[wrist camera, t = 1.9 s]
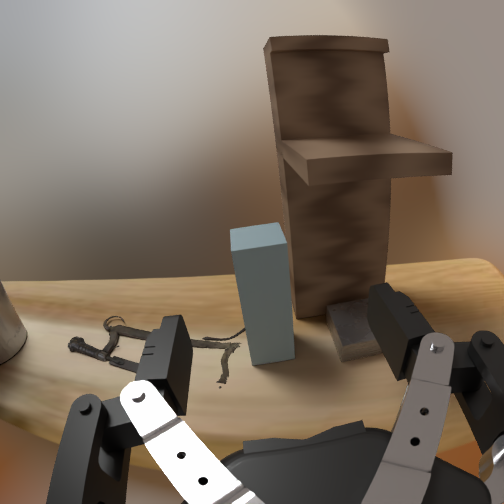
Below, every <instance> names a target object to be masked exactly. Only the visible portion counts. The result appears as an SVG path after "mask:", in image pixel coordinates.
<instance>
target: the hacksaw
mask: <svg viewBox="0 0 504 504" xmlns="http://www.w3.org/2000/svg"><path fill="white" fill-rule="evenodd" d="M113 317H118V316H112V317H109V318H108V319H106V320H105V322H104V324H103V326H104V328H105V329H107V330H109V332H110V331H111V332H110V333H109V336H110V340H109V342H108V344H107V345H106V346H105V347H104V349H103V350H99V349H96V348H94V347H93V346H90V345H88V344H86V343H85V342H84V339H83V338H79V337H74V338H72V339H71V340H70V343H68V348H69V349H70V351H72V352H73V351H77V352H80V353H83V354H85V355H89V356H91V357H94V358H96V359H99V360H102V361H106V360H108V361H110V362H109V364H112V365H115V366H118V367H121V368H124V369H127V370H130V371H133V372H136V373H137V370H138V366H139V363H135V362H132V361H129V360H125V359H122V358H119V357H116V356H114V357H113V358H112V357H110V352H111V351H112V349H113V348H116V347H114V346H115V345H116V343H117V340H118V334H119V335H125V336H129V337H134V338H139V339H144V340H146V339H147V337H148V336H149V335H150V333H151V332H149V331H144V330H139V329H134V328H131V327H126V326H122V325H117V326H114V327H112V326H110V327H108V326H107V325H106V323H107V321H108V320H109V319H110V318H113ZM119 318H121V317H119ZM121 319H122V318H121ZM122 320H123V319H122ZM123 322H124V320H123ZM244 331H245V328H244V329H242V330H241V331H240V332H239V333H237V334H236V335H234V336H231V337H230V338H223V339H220V338H211V337H205V338H202V339H204V340H215V341H219V340H220V341H222V340H224V341H225V340H230V339H232V338H235V337H236V336H238V335H239V334H241V333H242V332H244ZM191 343H192V347H197V348H219V349H225V348H227V349H225V353H224V354H223V356H222V359H221V365H222V369H223V374H222V375H221V378H220V379H219V381H217V383H224V384H226V380H227V376H228V377H229V370H228V358H229V356H230V354H231V353H234V351H235V349H236V348H237V347H240V346H239V345H238V344H241V343H237V345H236V343H232V344H231V343H220V342H210V341H202V340H193V339H191ZM117 347H119V346H117ZM235 347H236V348H235ZM233 348H234V349H233ZM219 388H221V386H220V387H219Z"/></svg>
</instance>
